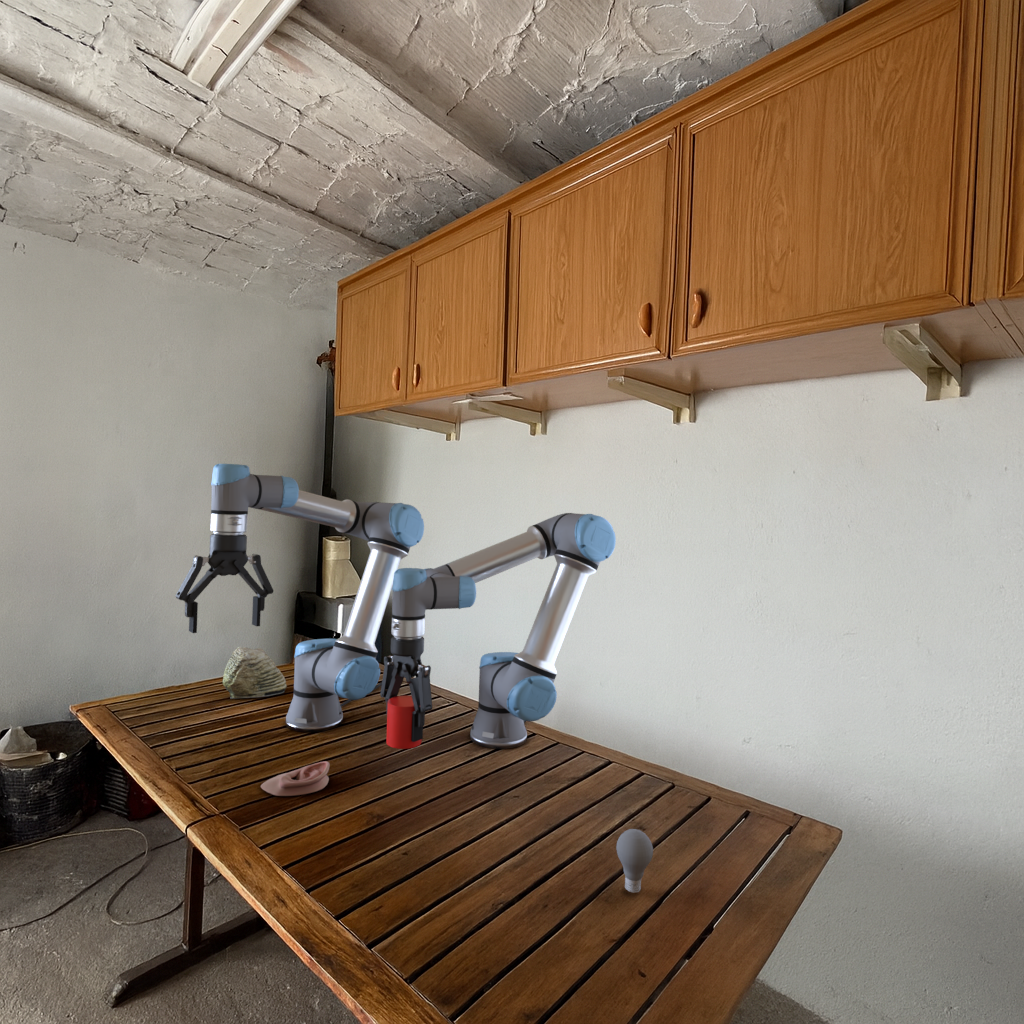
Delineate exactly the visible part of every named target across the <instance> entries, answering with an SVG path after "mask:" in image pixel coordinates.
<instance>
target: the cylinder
mask: <svg viewBox="0 0 1024 1024" xmlns="http://www.w3.org/2000/svg"><path fill="white" fill-rule="evenodd" d="M419 707H420V706H419ZM414 711H415V708H414V704H413V700H412V695H397V697H393V698H390V699H389V700H388V708H387V713H386V742H385V743H386V745H387V746H388V747H390V748H393V749H399V750H407V749H414V748H417V747H419V746H421V744H422V742H423V739H421V740H418V741H415V742H412V741H411V737H412V712H414Z"/></svg>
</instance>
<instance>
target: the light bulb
mask: <svg viewBox="0 0 1024 1024" xmlns="http://www.w3.org/2000/svg"><path fill="white" fill-rule="evenodd" d="M615 849H616V854H617V857H618V859H619V861H620V863H621V865H622V867H623V873H624V874H623V875H624V876H625V878H624V888H625V890H627V891H628V892H630V893H634V894H635V893H639V892H640V891H641V889H642V887H641V886H642V879H643V877H644V875H645V871H646V868H647V867H648V866H649V864H650V863H651V861H652V859H653V855H654V847H653V843H652V841H651V838H649V836H648V835H647V834H646V833H645V832H643V831H642V830H641V829H636V828H629V829H627V830H625V831H623V832H622V833H621V834H620V835H619V837H618V839H617V841H616V847H615Z"/></svg>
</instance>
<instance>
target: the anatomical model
mask: <svg viewBox="0 0 1024 1024" xmlns="http://www.w3.org/2000/svg"><path fill="white" fill-rule="evenodd" d="M330 766H331V765H330V762H329V761H327V760H325V761H320V762H316V763H312V764H309V765H306V766H302V767H300V768H298V769H295V770H292V771H289V772H285V773H281V774H278V775H276V776H273V777H271V778H269V779H267V780H266V781H264V782H262V783H261V785H260V788H261V789H262V790H263V791H264V792H266V793H268V794H270V795H273V796H276V797H293V796H300V795H301V796H302V795H307V794H311V793H315V792H318V791H321V790H323V789H324V788H325V787H326V786H328V783H329V781H330V778H329V776H328V773H329V770H330Z"/></svg>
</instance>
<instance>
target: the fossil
mask: <svg viewBox="0 0 1024 1024" xmlns="http://www.w3.org/2000/svg"><path fill="white" fill-rule="evenodd" d="M222 676H223V677H222V685H223V687H224V688H225V690H226V691H228V693H229V698H230V699H250V698H264V697H271V696H275V695H281V694H284V693H285V691H286V689H287V687H288V686H287V680H286V678H285V676H284V674H283V673H282V672H281V669H279V668H278V667H277V665H276V663H275V662H274V660H273V659H272V658H271V657H270V656H269V655H268V654H267V653H266V652H265V650H264V649H263V648H260V647H258V648H251V647H247V646H246V647H245V646H238V647H237V648H236V649H235V650H233V651H232V653H231V656H230V657H229V659H228V660H227V663H226V666H225V668H224V671H223V675H222Z"/></svg>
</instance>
